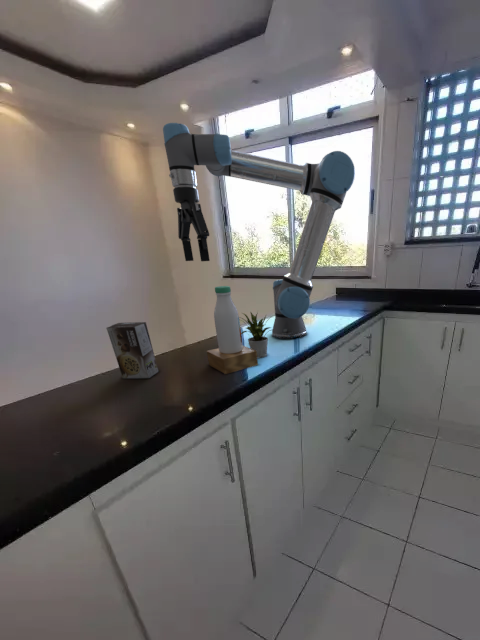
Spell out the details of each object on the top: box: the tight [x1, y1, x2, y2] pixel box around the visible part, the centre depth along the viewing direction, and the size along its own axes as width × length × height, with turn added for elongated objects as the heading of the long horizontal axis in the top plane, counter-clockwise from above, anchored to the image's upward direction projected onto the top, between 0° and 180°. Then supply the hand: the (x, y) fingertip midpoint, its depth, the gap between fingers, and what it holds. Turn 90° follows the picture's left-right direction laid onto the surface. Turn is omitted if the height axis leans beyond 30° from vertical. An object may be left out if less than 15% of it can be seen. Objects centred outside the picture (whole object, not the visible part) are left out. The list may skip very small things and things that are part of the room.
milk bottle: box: [213, 285, 244, 354], centre depth 97 cm, size 8×8×20 cm
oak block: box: [206, 345, 259, 375], centre depth 103 cm, size 12×12×5 cm
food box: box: [105, 321, 159, 379], centre depth 95 cm, size 9×6×16 cm
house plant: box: [239, 311, 275, 359], centre depth 109 cm, size 14×14×16 cm
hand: (197, 261), depth 108 cm, fingers open, 13 cm apart
